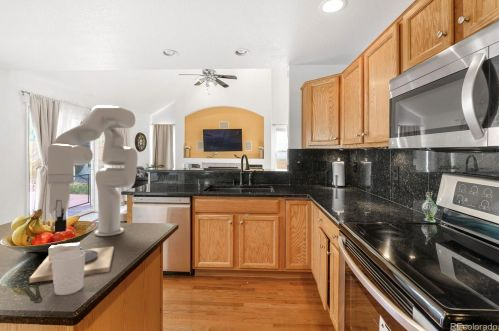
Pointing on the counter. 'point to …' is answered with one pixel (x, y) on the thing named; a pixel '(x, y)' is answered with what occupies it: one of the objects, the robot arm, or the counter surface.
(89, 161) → the robot arm
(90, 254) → the dial
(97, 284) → the counter surface
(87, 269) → the dial panel
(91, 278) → the counter surface
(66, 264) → the white cup
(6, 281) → the counter surface
